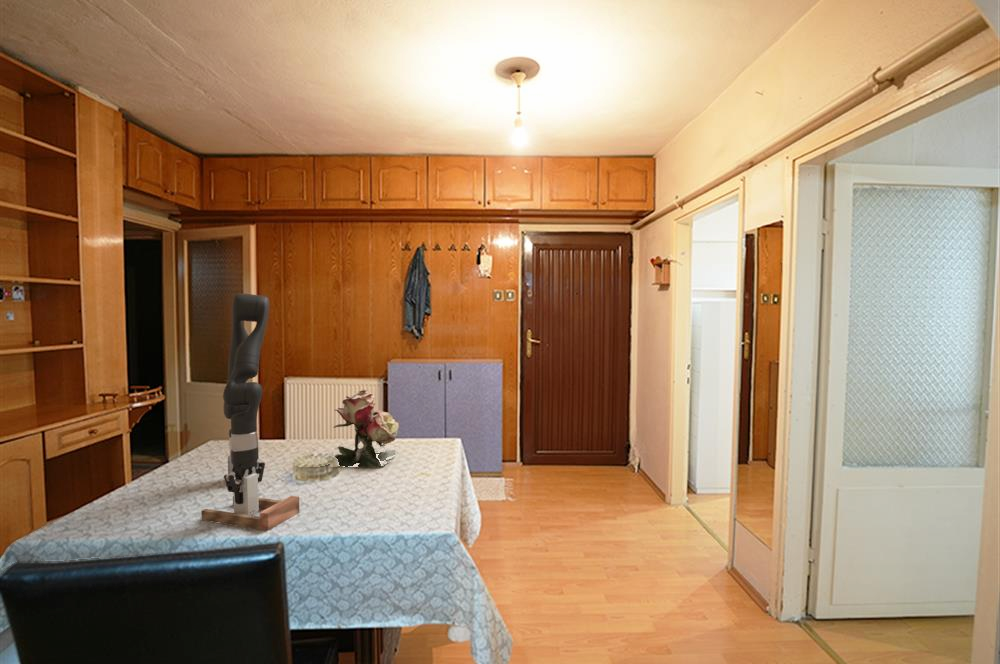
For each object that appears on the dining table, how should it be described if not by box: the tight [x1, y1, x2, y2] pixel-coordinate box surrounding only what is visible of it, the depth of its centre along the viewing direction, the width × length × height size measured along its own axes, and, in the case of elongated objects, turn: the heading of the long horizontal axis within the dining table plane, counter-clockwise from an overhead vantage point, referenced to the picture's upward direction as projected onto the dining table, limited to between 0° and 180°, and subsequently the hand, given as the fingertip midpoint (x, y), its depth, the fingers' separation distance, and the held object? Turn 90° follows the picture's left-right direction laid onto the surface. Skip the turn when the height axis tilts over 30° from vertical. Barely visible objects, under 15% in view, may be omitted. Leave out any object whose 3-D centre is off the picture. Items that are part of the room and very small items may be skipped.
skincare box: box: [232, 474, 260, 515], centre depth 144 cm, size 6×4×12 cm
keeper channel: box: [200, 495, 300, 531], centre depth 144 cm, size 25×13×5 cm, turn 74°
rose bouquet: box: [333, 389, 400, 468], centre depth 201 cm, size 26×29×30 cm
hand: (246, 500), depth 144 cm, fingers closed on skincare box, 4 cm apart
